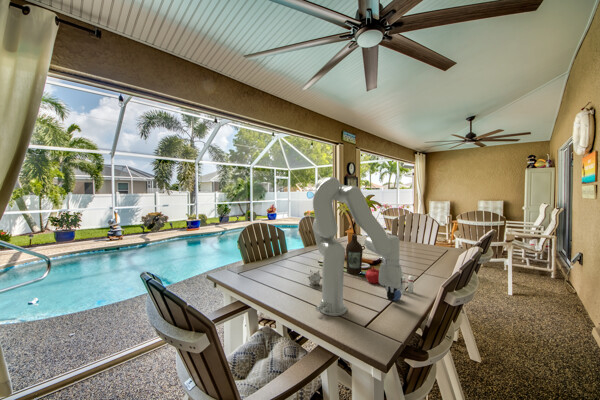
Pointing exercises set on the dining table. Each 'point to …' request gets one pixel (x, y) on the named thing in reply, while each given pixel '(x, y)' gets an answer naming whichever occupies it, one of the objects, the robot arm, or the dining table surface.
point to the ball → (397, 295)
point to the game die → (314, 277)
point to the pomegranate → (372, 276)
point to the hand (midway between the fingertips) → (390, 299)
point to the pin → (410, 284)
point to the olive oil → (354, 256)
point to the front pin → (403, 286)
